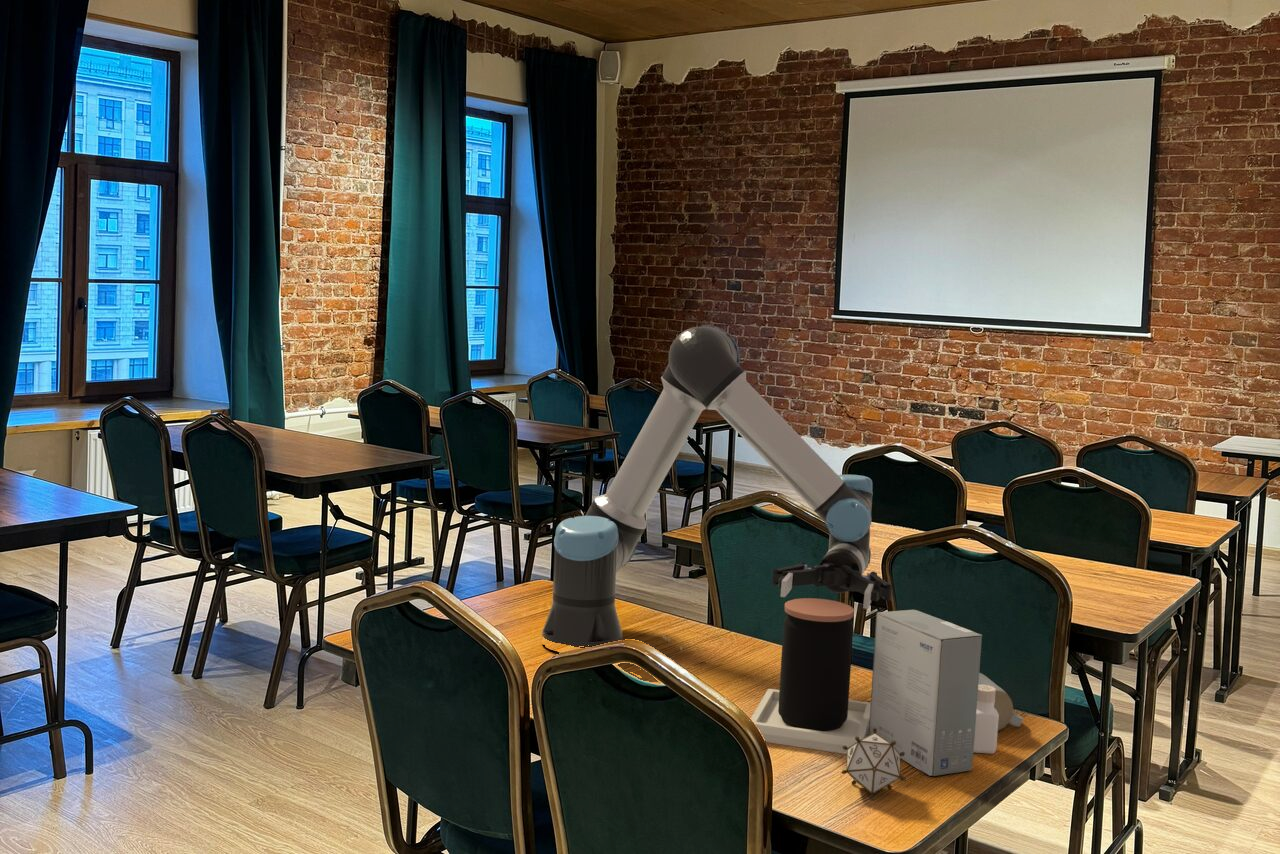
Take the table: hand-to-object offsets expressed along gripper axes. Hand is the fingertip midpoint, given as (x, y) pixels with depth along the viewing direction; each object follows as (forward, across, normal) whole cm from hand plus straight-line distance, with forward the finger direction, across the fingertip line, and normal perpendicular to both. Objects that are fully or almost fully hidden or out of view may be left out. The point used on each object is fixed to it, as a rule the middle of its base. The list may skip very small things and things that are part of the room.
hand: (824, 594), depth 190 cm
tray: (+13, -2, -18) cm, 22 cm away
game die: (+33, -13, -18) cm, 40 cm away
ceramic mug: (-1, -27, -18) cm, 33 cm away
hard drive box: (+17, -18, -18) cm, 31 cm away
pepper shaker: (+11, -26, -18) cm, 34 cm away
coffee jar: (+13, -1, -17) cm, 21 cm away
